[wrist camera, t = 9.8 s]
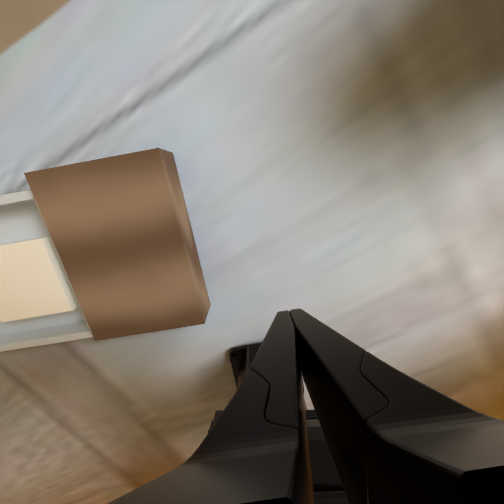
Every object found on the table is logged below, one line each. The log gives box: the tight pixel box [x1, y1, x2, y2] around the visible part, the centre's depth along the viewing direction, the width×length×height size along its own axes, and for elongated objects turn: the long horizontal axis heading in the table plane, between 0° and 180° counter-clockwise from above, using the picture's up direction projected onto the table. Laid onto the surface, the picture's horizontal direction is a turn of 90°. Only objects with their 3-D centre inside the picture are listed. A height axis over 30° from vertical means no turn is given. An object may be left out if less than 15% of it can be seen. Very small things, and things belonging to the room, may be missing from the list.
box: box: [0, 190, 93, 352], centre depth 20 cm, size 12×12×2 cm
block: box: [0, 235, 79, 322], centre depth 20 cm, size 6×6×2 cm
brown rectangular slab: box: [24, 148, 210, 341], centre depth 19 cm, size 13×9×3 cm
